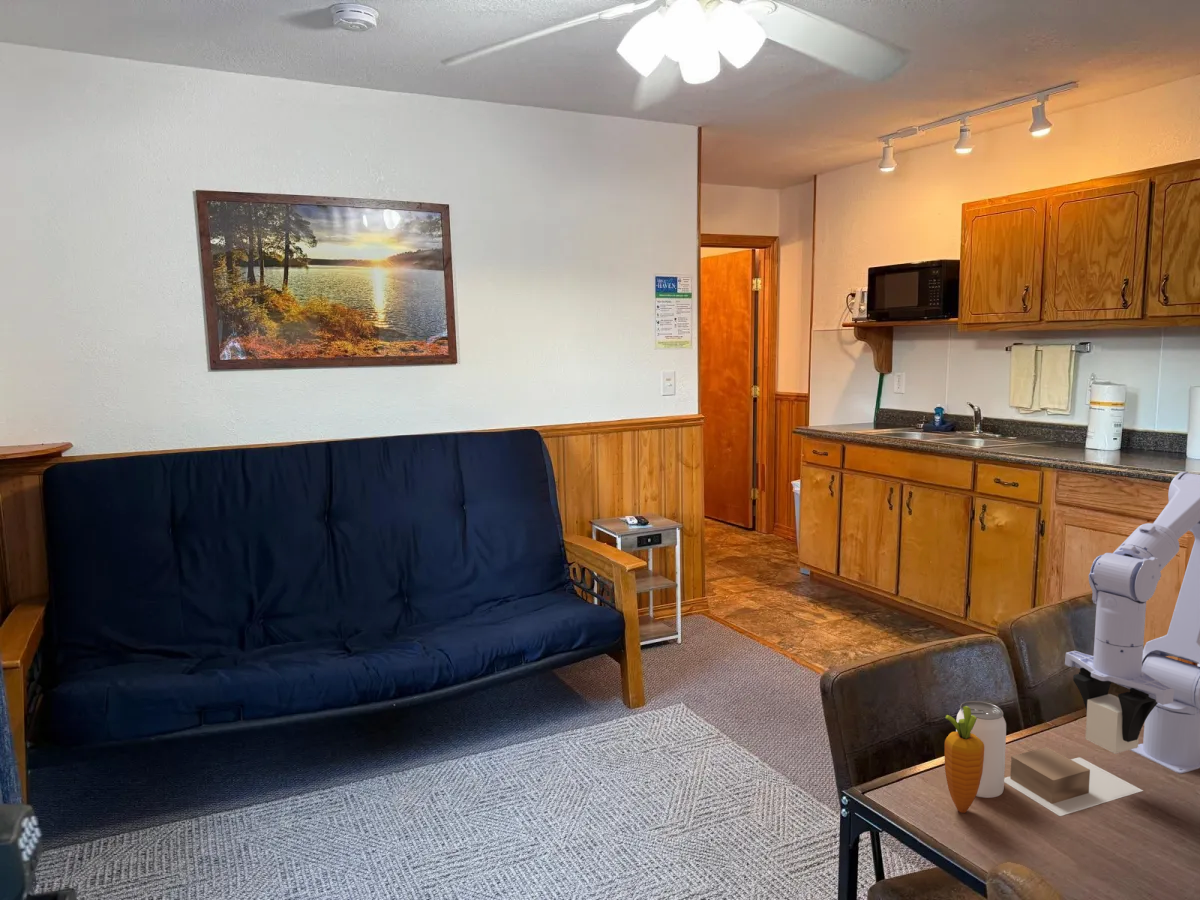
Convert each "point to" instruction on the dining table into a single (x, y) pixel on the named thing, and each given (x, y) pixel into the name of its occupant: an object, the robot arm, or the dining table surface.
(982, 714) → the can
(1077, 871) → the dining table surface
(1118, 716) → the cream block
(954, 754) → the carrot
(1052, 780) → the brown block
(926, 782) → the dining table surface
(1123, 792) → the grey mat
